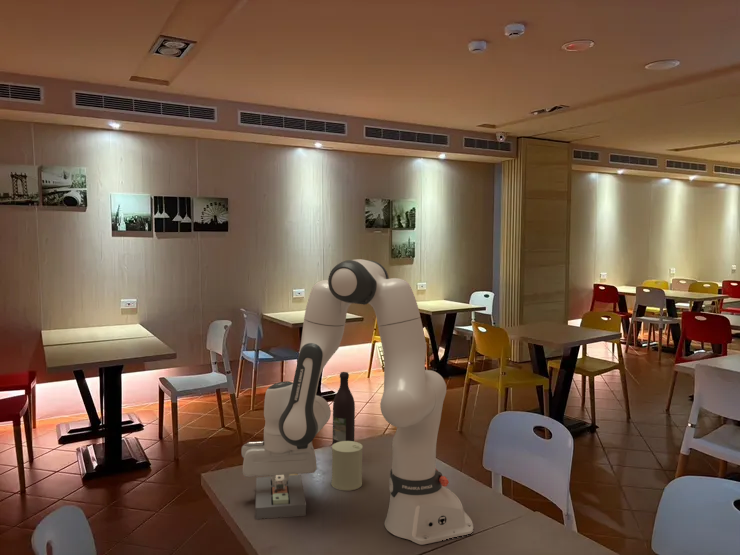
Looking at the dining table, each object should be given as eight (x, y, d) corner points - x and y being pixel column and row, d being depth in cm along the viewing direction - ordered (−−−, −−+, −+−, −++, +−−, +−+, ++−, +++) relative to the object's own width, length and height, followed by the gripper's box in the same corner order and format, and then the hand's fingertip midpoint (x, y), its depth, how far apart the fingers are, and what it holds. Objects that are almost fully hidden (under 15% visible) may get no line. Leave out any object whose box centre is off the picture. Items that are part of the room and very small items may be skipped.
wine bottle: (330, 460, 187) (331, 370, 184) (351, 458, 188) (352, 369, 186) (334, 469, 180) (335, 375, 178) (356, 467, 181) (357, 374, 179)
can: (358, 492, 164) (359, 451, 163) (327, 488, 165) (328, 448, 165) (365, 479, 173) (365, 440, 172) (335, 476, 174) (336, 438, 174)
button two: (287, 501, 154) (287, 492, 154) (288, 508, 150) (288, 498, 150) (272, 502, 153) (272, 493, 153) (273, 509, 149) (273, 499, 149)
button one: (285, 482, 166) (285, 473, 165) (286, 488, 162) (286, 479, 162) (272, 483, 165) (272, 474, 165) (272, 489, 161) (272, 480, 161)
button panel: (301, 484, 168) (301, 474, 168) (305, 515, 149) (305, 504, 149) (256, 487, 166) (256, 477, 165) (255, 519, 147) (255, 508, 147)
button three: (286, 494, 160) (286, 485, 160) (287, 501, 156) (287, 491, 156) (272, 495, 159) (272, 486, 159) (272, 502, 155) (272, 492, 155)
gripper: (241, 446, 151) (240, 496, 152) (317, 442, 155) (317, 491, 156) (241, 438, 158) (241, 486, 158) (315, 434, 161) (315, 481, 162)
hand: (279, 489), depth 157 cm, fingers closed, pressing on button three
